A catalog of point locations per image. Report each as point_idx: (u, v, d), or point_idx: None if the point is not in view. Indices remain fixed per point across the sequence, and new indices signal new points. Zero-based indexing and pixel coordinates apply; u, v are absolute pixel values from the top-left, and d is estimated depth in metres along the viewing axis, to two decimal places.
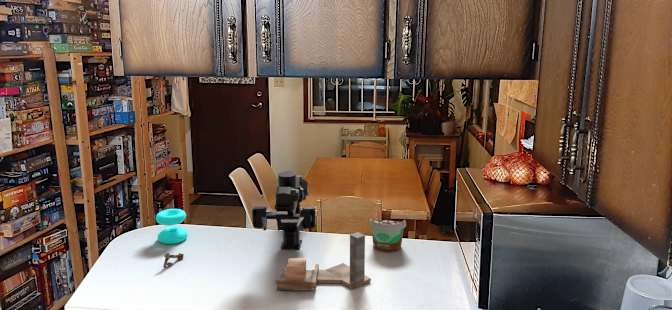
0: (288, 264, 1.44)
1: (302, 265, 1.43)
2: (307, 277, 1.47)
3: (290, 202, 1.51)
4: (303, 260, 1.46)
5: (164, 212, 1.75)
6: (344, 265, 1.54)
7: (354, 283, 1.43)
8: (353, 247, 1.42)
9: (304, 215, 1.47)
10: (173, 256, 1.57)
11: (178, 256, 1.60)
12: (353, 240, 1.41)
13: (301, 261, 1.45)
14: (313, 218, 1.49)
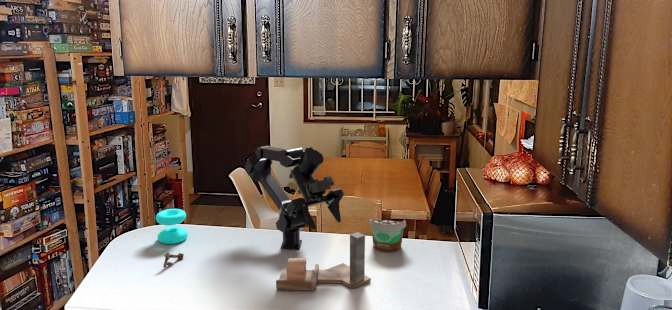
0: (288, 264, 1.44)
1: (302, 265, 1.43)
2: (307, 277, 1.47)
3: (324, 190, 1.54)
4: (303, 260, 1.46)
5: (164, 212, 1.75)
6: (344, 265, 1.54)
7: (354, 283, 1.43)
8: (353, 247, 1.42)
9: (338, 202, 1.57)
10: (173, 256, 1.57)
11: (178, 256, 1.60)
12: (353, 240, 1.41)
13: (301, 261, 1.45)
14: None
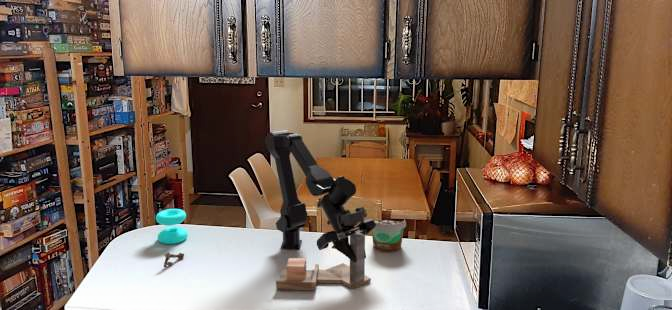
0: (288, 264, 1.44)
1: (302, 265, 1.43)
2: (307, 277, 1.47)
3: None
4: (303, 260, 1.46)
5: (164, 212, 1.75)
6: (344, 265, 1.54)
7: (354, 283, 1.43)
8: (353, 247, 1.42)
9: None
10: (173, 256, 1.58)
11: (178, 256, 1.60)
12: (353, 240, 1.41)
13: (301, 261, 1.45)
14: (371, 229, 1.51)
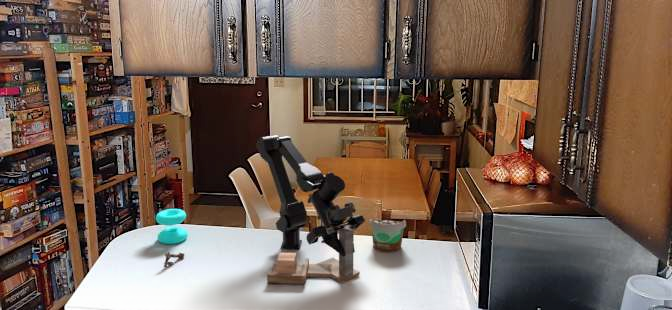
0: (279, 258, 1.47)
1: (292, 259, 1.47)
2: (297, 271, 1.50)
3: None
4: (293, 254, 1.50)
5: (164, 212, 1.75)
6: (334, 259, 1.58)
7: (343, 277, 1.47)
8: (342, 242, 1.46)
9: None
10: (174, 255, 1.58)
11: (179, 255, 1.60)
12: (342, 235, 1.45)
13: (291, 256, 1.49)
14: (360, 224, 1.54)
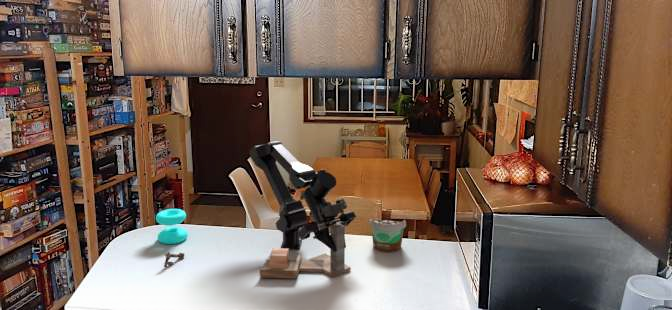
0: (271, 253, 1.51)
1: (285, 254, 1.50)
2: (290, 266, 1.53)
3: None
4: (286, 250, 1.53)
5: (164, 212, 1.75)
6: (326, 255, 1.61)
7: (334, 272, 1.50)
8: (333, 237, 1.49)
9: None
10: (174, 255, 1.58)
11: (179, 255, 1.60)
12: (334, 230, 1.48)
13: (284, 251, 1.52)
14: (351, 221, 1.57)
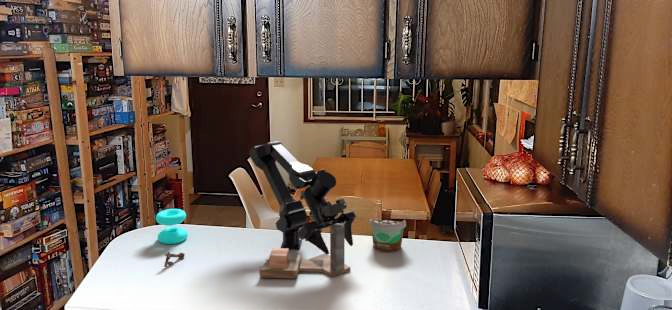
0: (271, 253, 1.51)
1: (284, 254, 1.50)
2: (290, 266, 1.53)
3: None
4: (286, 250, 1.53)
5: (164, 212, 1.75)
6: (326, 255, 1.61)
7: (334, 271, 1.50)
8: (333, 237, 1.49)
9: (350, 225, 1.54)
10: (174, 255, 1.58)
11: (179, 255, 1.60)
12: (333, 230, 1.48)
13: (284, 251, 1.52)
14: None
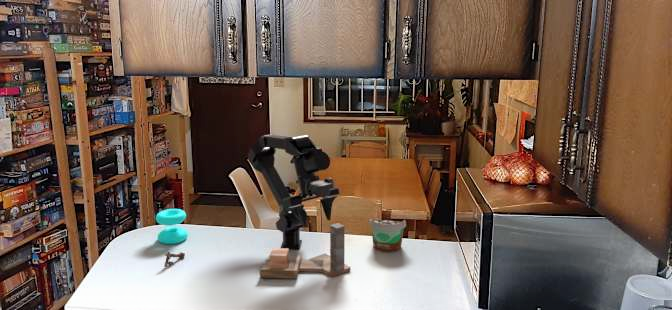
0: (271, 253, 1.51)
1: (284, 254, 1.50)
2: (290, 266, 1.53)
3: None
4: (286, 250, 1.53)
5: (164, 212, 1.75)
6: (326, 255, 1.61)
7: (334, 271, 1.50)
8: (333, 237, 1.49)
9: (332, 201, 1.60)
10: (174, 255, 1.58)
11: (179, 255, 1.60)
12: (333, 230, 1.48)
13: (284, 251, 1.52)
14: None
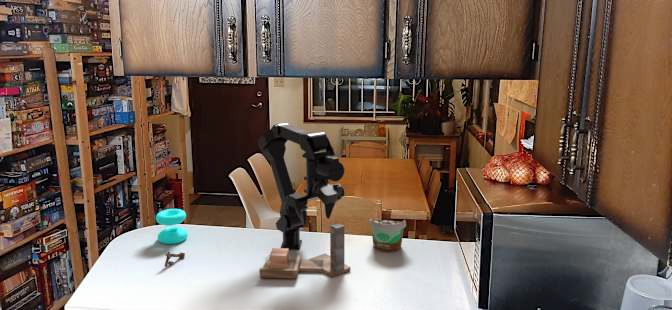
0: (271, 253, 1.51)
1: (284, 254, 1.50)
2: (290, 266, 1.53)
3: None
4: (286, 250, 1.53)
5: (164, 212, 1.75)
6: (326, 255, 1.61)
7: (334, 271, 1.50)
8: (333, 237, 1.49)
9: (335, 202, 1.58)
10: (174, 255, 1.58)
11: (179, 255, 1.60)
12: (333, 230, 1.48)
13: (284, 251, 1.52)
14: None
